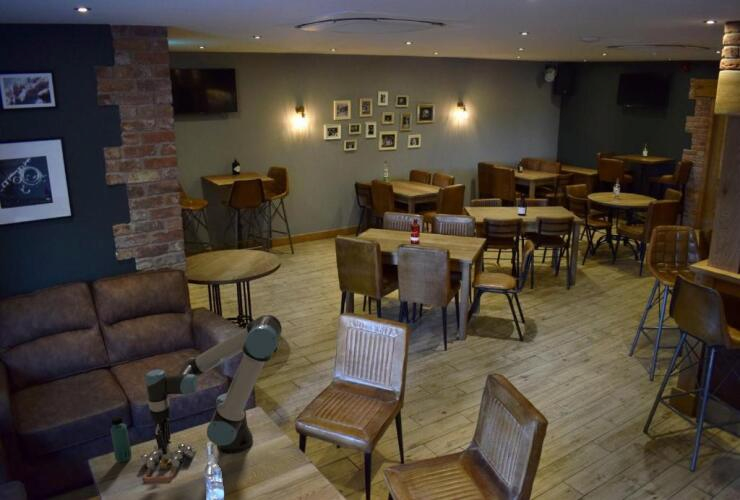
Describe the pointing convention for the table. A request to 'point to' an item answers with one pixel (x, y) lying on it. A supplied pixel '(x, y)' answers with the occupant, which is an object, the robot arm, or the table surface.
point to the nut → (166, 463)
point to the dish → (163, 478)
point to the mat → (183, 466)
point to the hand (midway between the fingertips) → (166, 459)
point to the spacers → (175, 460)
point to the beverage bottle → (120, 440)
